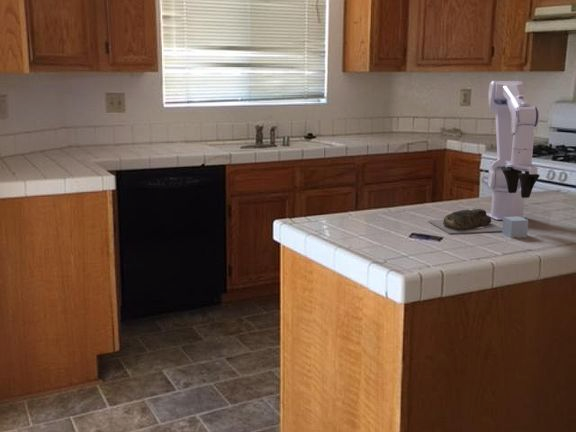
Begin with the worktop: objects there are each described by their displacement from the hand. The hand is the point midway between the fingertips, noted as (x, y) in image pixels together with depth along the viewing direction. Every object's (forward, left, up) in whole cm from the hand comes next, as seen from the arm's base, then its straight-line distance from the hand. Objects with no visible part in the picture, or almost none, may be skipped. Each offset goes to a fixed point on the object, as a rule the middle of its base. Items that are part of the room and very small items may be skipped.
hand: (518, 195), depth 188 cm
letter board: (+13, -6, -10) cm, 18 cm away
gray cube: (+4, +6, -10) cm, 13 cm away
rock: (+13, -6, -10) cm, 17 cm away
